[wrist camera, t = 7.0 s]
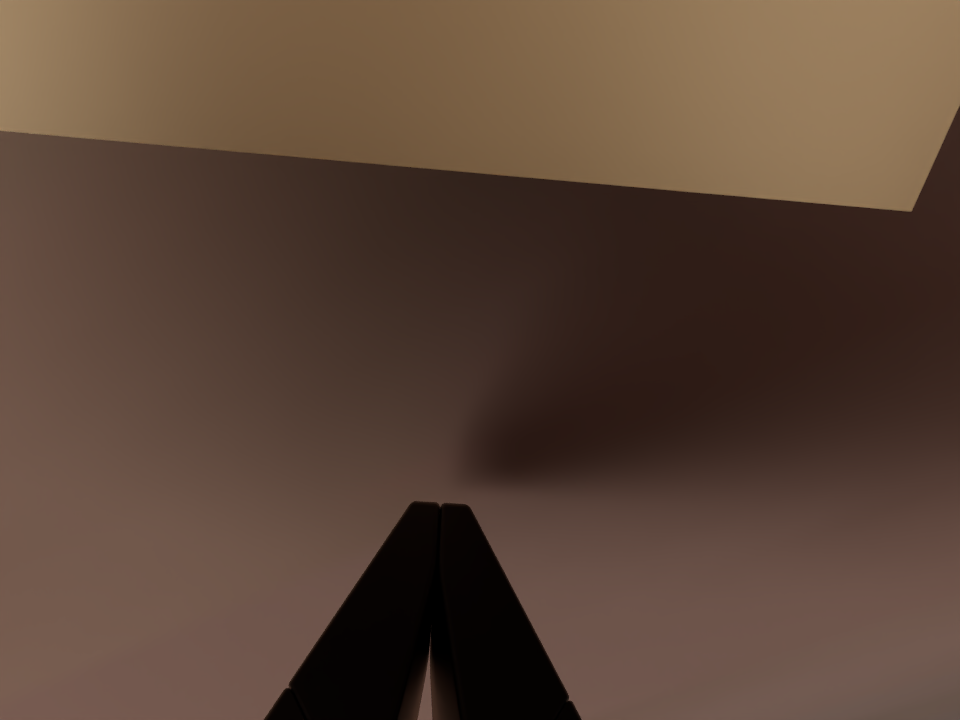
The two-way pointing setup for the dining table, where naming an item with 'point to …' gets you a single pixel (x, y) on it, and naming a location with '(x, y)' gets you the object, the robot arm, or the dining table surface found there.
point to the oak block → (512, 86)
